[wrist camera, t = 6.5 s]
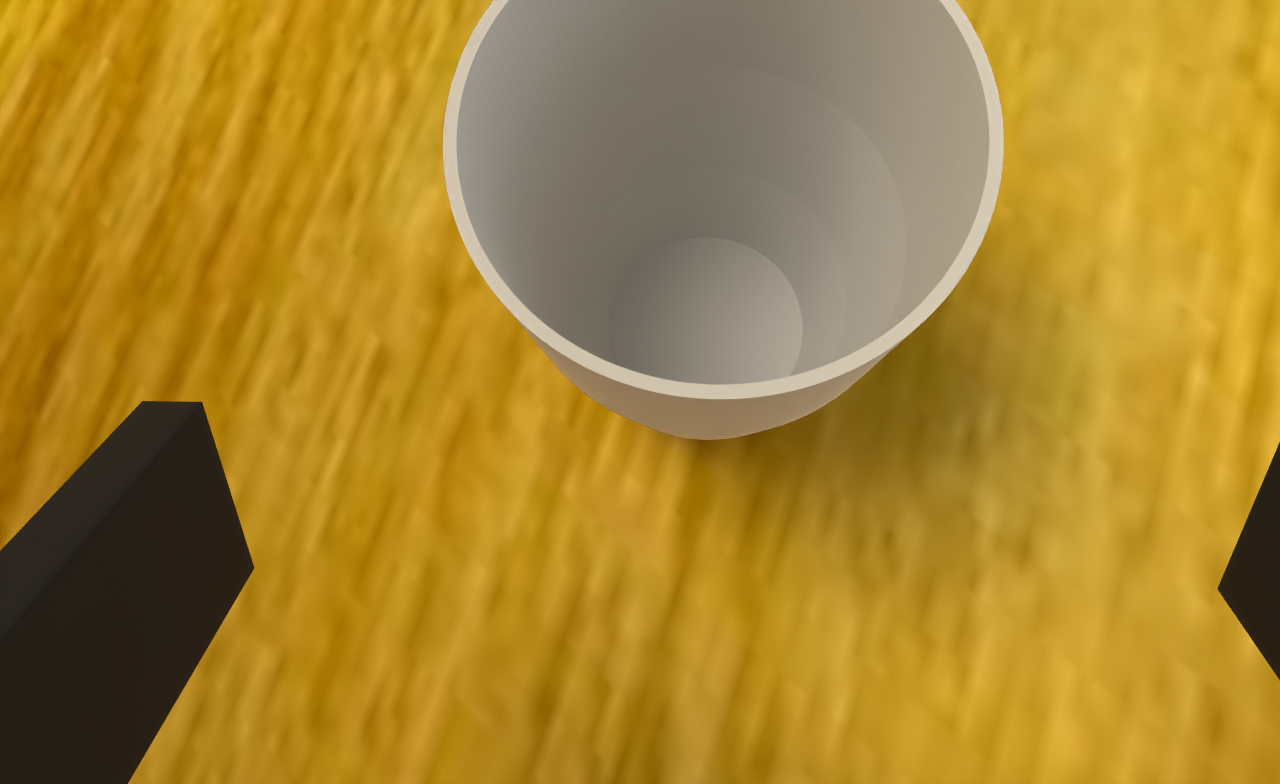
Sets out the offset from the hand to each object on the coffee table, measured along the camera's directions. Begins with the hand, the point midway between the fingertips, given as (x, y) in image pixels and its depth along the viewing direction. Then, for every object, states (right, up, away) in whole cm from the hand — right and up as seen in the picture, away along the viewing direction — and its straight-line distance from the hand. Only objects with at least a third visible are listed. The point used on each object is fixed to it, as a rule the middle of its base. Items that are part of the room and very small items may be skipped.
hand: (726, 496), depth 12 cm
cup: (+1, +3, +12) cm, 12 cm away
